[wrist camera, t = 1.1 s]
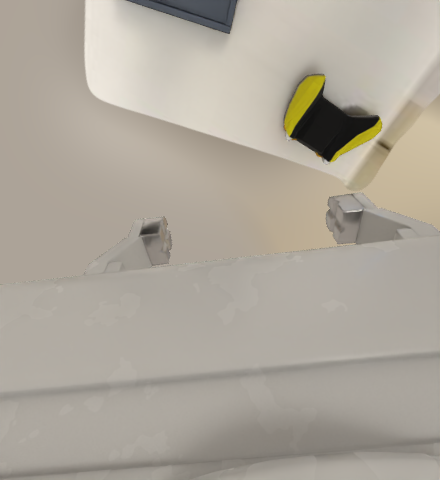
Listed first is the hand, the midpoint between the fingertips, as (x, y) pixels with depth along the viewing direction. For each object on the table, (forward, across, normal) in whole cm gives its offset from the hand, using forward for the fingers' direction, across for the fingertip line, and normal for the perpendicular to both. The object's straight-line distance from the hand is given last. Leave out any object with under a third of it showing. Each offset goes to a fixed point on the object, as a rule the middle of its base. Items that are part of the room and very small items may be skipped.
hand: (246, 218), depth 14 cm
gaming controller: (+37, -17, +6) cm, 41 cm away
